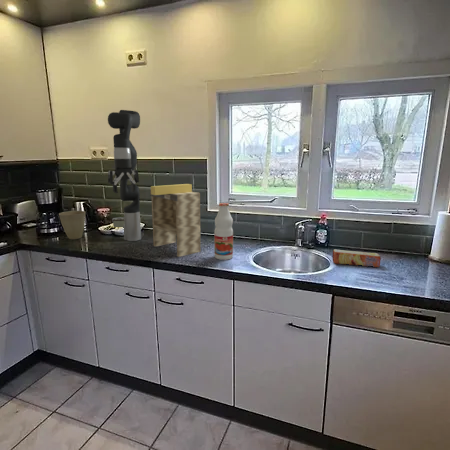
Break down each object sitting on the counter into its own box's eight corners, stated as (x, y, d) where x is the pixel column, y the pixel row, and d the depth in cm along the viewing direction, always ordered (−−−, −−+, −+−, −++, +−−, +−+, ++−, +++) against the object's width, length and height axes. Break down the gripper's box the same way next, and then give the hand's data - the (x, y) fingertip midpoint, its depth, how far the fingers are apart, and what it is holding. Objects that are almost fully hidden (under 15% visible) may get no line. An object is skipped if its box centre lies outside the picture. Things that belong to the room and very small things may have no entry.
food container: (134, 231, 214) (133, 217, 212) (130, 234, 208) (129, 219, 206) (116, 231, 215) (115, 216, 213) (112, 233, 209) (111, 218, 207)
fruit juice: (232, 254, 167) (232, 202, 161) (233, 260, 158) (234, 204, 152) (214, 254, 167) (214, 201, 161) (214, 260, 158) (214, 204, 152)
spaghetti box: (187, 191, 171) (187, 183, 170) (191, 191, 168) (191, 184, 168) (151, 194, 157) (150, 186, 156) (155, 195, 154) (154, 186, 153)
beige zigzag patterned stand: (174, 241, 191) (172, 188, 184) (200, 251, 172) (200, 192, 165) (151, 246, 181) (149, 190, 174) (177, 257, 162) (175, 195, 155)
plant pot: (82, 233, 208) (80, 209, 204) (91, 238, 197) (89, 213, 194) (58, 237, 198) (55, 212, 195) (65, 242, 187) (63, 216, 184)
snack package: (377, 264, 154) (379, 251, 153) (380, 269, 148) (381, 255, 147) (331, 260, 160) (332, 247, 158) (332, 264, 153) (333, 251, 152)
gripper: (133, 157, 155) (134, 190, 158) (104, 157, 145) (106, 192, 149) (140, 157, 149) (141, 192, 153) (110, 158, 140) (113, 194, 144)
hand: (124, 192), depth 151 cm, fingers open, 8 cm apart
